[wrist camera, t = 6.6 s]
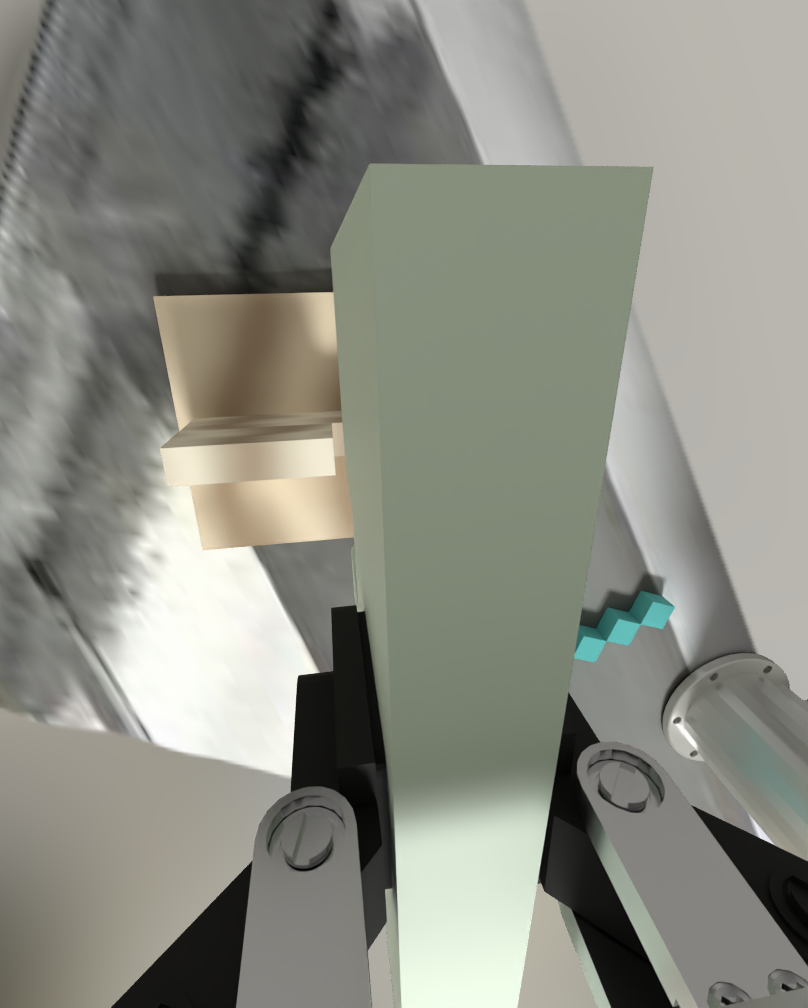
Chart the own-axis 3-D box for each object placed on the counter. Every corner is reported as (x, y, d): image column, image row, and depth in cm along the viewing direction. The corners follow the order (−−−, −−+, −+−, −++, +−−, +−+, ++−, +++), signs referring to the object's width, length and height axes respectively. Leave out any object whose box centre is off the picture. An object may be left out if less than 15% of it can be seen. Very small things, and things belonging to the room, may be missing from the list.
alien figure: (658, 593, 44) (448, 540, 39) (674, 607, 42) (455, 553, 37) (563, 763, 50) (371, 736, 45) (573, 782, 48) (373, 756, 43)
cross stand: (520, 288, 32) (580, 283, 25) (507, 517, 38) (552, 569, 30) (159, 296, 29) (102, 293, 22) (206, 542, 35) (174, 607, 28)
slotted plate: (408, 675, 21) (502, 1098, 10) (360, 681, 21) (406, 1122, 10) (400, 248, 14) (654, 167, 4) (330, 248, 14) (368, 163, 3)
